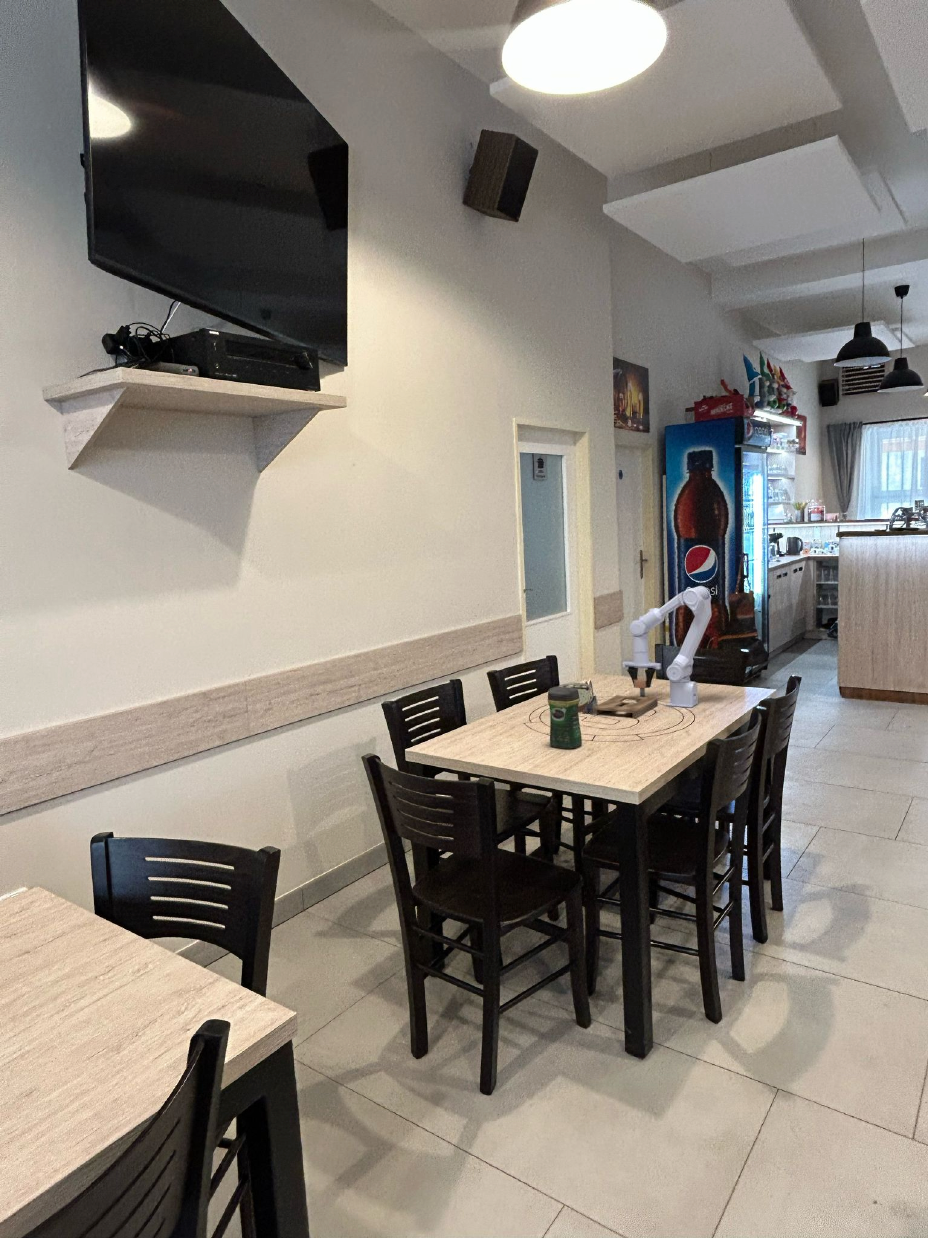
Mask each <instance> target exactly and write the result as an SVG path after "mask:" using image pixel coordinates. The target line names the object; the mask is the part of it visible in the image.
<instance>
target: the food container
mask: <svg viewBox="0 0 928 1238" xmlns="http://www.w3.org/2000/svg"><path fill="white" fill-rule="evenodd" d="M557 687H569V688H577V689H578V692H579V697H580V701H579V705H578V714H582V713H581V712H583V710H584V708H585V707H586V705H587V704H589V703H590V691H592V688H591V685H590V684H589V683H584V682H567V683H562V684H559V685H557ZM589 705H590V704H589Z"/></svg>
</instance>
